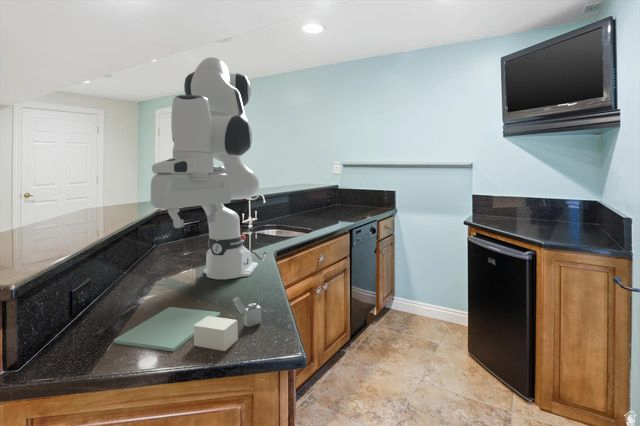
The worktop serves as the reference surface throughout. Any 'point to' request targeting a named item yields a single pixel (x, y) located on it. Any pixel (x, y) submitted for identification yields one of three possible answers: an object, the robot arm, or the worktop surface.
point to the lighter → (249, 312)
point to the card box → (215, 333)
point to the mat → (165, 329)
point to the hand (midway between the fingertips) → (196, 225)
